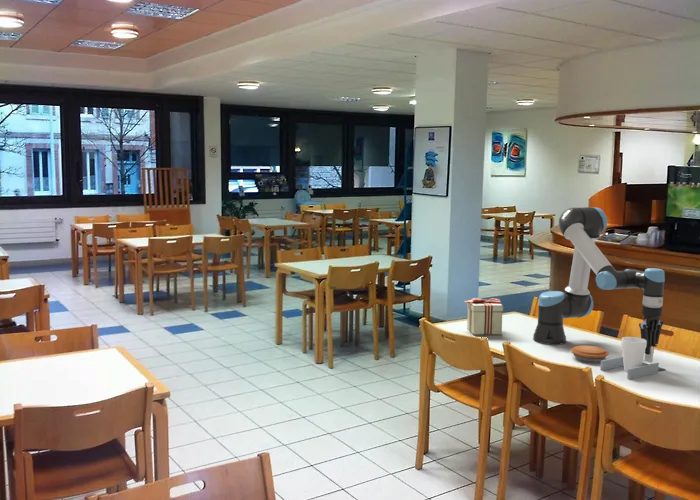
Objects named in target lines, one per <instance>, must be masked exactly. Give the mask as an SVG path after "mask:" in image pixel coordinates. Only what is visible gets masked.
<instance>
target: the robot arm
mask: <svg viewBox="0 0 700 500" xmlns="http://www.w3.org/2000/svg"><path fill="white" fill-rule="evenodd" d="M558 227H559V228H558V229H559V231H560V233H561V235H562V236H563V238H565V239H566V240H568V241H570V242H571V244H572V245H573V246H574V250H573V256H572V264H571V269H570V276H569V281H568V285H567V286H566V287H564V292H563V291H561V290H550V291H549V290H548V291H544V292H541V293H540V295H538V302H537V305H538V309H537V311H538V312H537V325H536V327H535V330H534V332H533V335H532V336H533V337H532V340H533V341H534V342H537V343H539V344H540V343H541V344H545V345H564V344H566V342H567V336H566V332H565V329H564V319H572V318H573V319H574V318H575V319H576V318H578V319H579V318H582V317H583V318H585V317H587V316H589V315H590V314H591V313H592V311H593V309H594V300H593V296H592V295H591V292H590V290H589V289H588V287H589V281H590V276H591V275H590V273H591V270H592V271H593V273H594V274H595V282H596V286H597V287H598V288H599V289H601V290H602V291H603V290H607V291H610V290H611V291H612V290H624V289H625V290H626V289H639V290H643V293H642V306H641V307H642V310H641V314H642V315H643V316H644V317H643V320H642V321H643V322H642V323H641V322H640V323H639V324H638V327H639V329H640V338H642V339H645V340H646V341H647V346H646V349H645V353H644V362H646V363H647V362H648V363H650V364H652V363H654V350H655V348H657V346H658V344H659V341H660V340H659V339H660V336H661V332H662V328H663V325H664V321H662V320H661V319H660V317H662V315H663V305H664V304H663V303H664V302H663V301H664V290H665V289H664V288H665V281H666V278H665V277H666V276H665V270H663V269H661V268H656V267H648V268H646V269H645V270H644V271H643V270H637V269H635V268H625V269H623V270H616V269H615V267H614V266H613V264H612V263H610V261H609V260H608V259H607V257H606V256H605V254H603V252H602V251H601V250H600V248H599V247H598V246H597V244H596V241H597V240H598V239H600V235H601V233H603V232H604V231H605V230H606V229H607V227H608V217H607V214H605V212H604V210H603V209H601V208H600V207H593V206H589V207H586V206H585V207H569V208H567V209H565V210H564V211H563V212H562V213H561V214H560V217H559V218H558Z"/></svg>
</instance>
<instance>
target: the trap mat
mask: <svg viewBox="0 0 700 500" xmlns="http://www.w3.org/2000/svg"><path fill="white" fill-rule="evenodd" d="M648 364H649V363H647V362H643V363H642V366H644V365H648ZM663 371H666V368H662V367H659V366H658V373H659V372H663Z"/></svg>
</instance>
